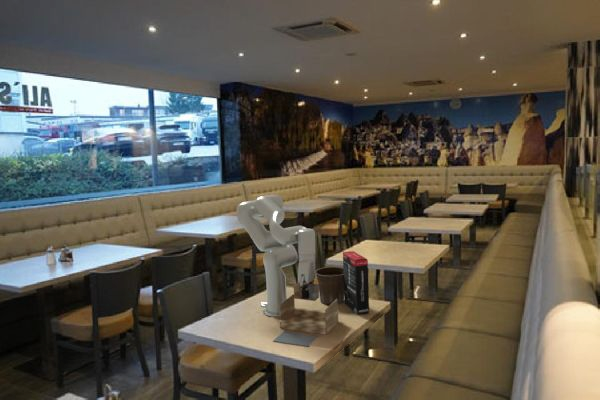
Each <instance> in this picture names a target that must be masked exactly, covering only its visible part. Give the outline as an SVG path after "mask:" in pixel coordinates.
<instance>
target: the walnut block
mask: <svg viewBox="0 0 600 400" xmlns="http://www.w3.org/2000/svg"><path fill="white" fill-rule="evenodd" d="M304 285H305V286H306V284H304ZM308 290H309V299H303V298H302V290H301V287H300V283H298V282H296V283H295V284H293V294H294V300H304V301H309V302H316V301H317V300H318V299H320V293H319V284H318V283H314V284H310V283H309V284H308Z"/></svg>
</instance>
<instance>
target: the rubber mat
mask: <svg viewBox="0 0 600 400" xmlns="http://www.w3.org/2000/svg"><path fill="white" fill-rule="evenodd" d="M317 338H318V335H311V334H304V333H297V332H290V331H281V333H280V334H279V335H278V336H276V337H275V338H274V339H273V340H272V342H273V343H274V342H275V343H281V344H285V345H287V344H288V345H293V346H299V347H304V348H310V346H311V344H312V343H313V342H314V341H315V340H316V339H317Z"/></svg>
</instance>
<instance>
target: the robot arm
mask: <svg viewBox="0 0 600 400" xmlns="http://www.w3.org/2000/svg"><path fill="white" fill-rule="evenodd" d="M283 207H284V201H283V198H282V197H281V196H280V195H278V194H270V195H269V194H268V195H262V196H259V197H257V198H256V199H254V200H249V201H248V200H247V201H243V202H241V203H239V204H238V205H237V207H236V217H237V221H238V222H239V224H240V226H241V227H242V228H243V229H244V230H245V232H247V234H248V235H249V237H250V238H251V240H252V241H253V243H254V244H255V246H256V247H257V249H258V250H259V251H260V252H264V254H263V256H262V260H263V261H262V263H263V265H264V271H265V282H266V283H265V284H266V302H265V301H261V303H260V308H264V315H266V316H268V317H274V318H275V317H279V318H280V311H279V305H280V304H281V303H282V302H284V301H285V300H286V299H288V297H287V277H286V274H285V272H284V270H283V269H282V268H284V267H288V266H292V265H294V264H296V263H297V262H298V265H297V266H298V267H297V283H300V287H301V290H302V298H303V299H309V290H308V284H309V283H310V284H315V283H314V282H315V279H316V276H317V275H316V272H315V271H316V258H317V257H316V232H315V229H313V228H307V227H305V226H303V225H296V226H289V227H285V228H284V227H283V226H282V225H281V223H282V222H283V221H284V219H285V217H286V216H285V215H286V213H285V211H284V210H283ZM258 217H259V218H260V217H263V218H264V219H265V220H266V221H267V222H268V223H269V230H267V228H266V227H265V226H264V224H263V223H262V222H261V221H259V220H258V219H256V218H258ZM293 244H297V246H298V248H297V250H298V251H297V250H296V248H295V246H294V245H293ZM304 284H306V286H305V285H304Z"/></svg>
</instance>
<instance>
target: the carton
mask: <svg viewBox="0 0 600 400" xmlns="http://www.w3.org/2000/svg"><path fill="white" fill-rule="evenodd" d="M295 304H296V303H295V299H294V293H293V294H292V295H290V296H289V297H287V299H286V300H285V301H284V302H282V303H281V304H280V305H279V311H280V316H279V320H278V323H279V328H280V329H285V330H292V331H298V332H299V331H301V332H305V333H312V334H313V333H314V334H321V335H328V334H329V333H330V332H331V330H333V328H334V327H335V326H337V324H338V322H339V314H340V312H339V304H338V299H336V300H335V301H334V302H333V303H332V304H331V305H328V307H327V308H326V309H325V310H318V309H312V308H311V309H310V308H302V307H296V305H295Z"/></svg>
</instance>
